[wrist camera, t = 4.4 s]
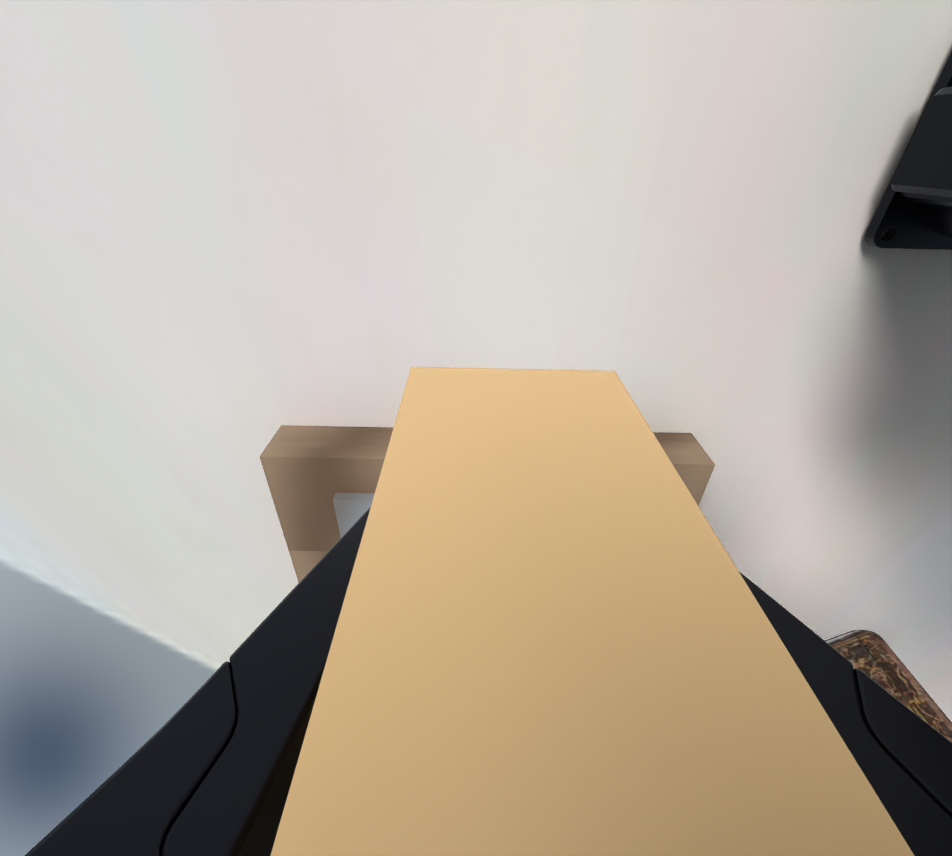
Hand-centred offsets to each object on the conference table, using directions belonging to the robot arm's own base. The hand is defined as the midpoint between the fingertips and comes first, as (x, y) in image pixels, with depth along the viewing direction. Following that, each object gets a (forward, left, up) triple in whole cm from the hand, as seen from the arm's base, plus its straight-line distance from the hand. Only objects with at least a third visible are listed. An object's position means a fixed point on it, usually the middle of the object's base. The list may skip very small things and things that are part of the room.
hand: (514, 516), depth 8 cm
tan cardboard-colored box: (0, 0, -2) cm, 2 cm away
